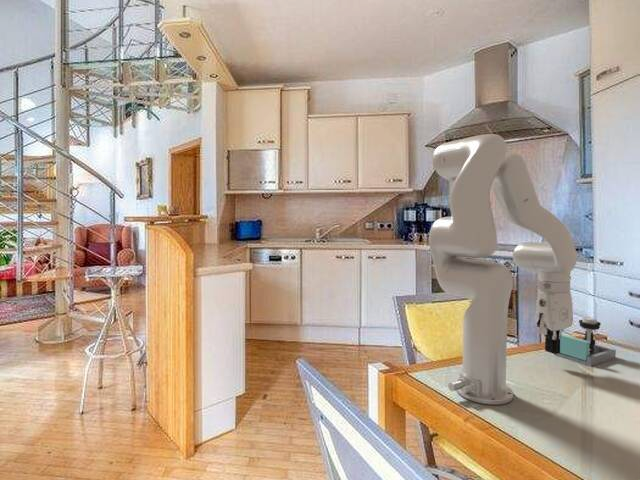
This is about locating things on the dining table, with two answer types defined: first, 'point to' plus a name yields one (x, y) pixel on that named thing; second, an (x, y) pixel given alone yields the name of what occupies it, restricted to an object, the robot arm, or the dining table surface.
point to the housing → (593, 356)
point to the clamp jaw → (574, 347)
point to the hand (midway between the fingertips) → (552, 352)
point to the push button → (589, 330)
